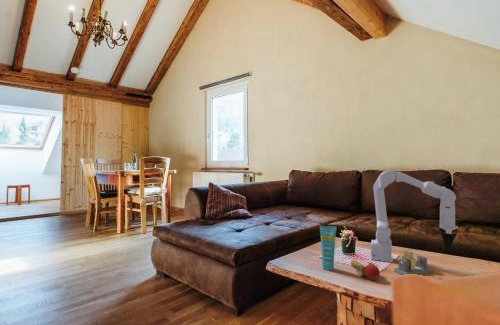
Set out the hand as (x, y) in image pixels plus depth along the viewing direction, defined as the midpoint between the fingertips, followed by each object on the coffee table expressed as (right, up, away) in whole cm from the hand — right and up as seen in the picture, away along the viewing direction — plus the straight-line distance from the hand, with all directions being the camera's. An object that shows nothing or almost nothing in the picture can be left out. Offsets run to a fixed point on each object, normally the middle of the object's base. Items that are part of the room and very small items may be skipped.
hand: (447, 246), depth 131 cm
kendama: (-40, -11, -5) cm, 41 cm away
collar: (-20, -8, -5) cm, 22 cm away
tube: (-53, -10, 0) cm, 54 cm away
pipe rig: (-18, -10, -4) cm, 21 cm away
